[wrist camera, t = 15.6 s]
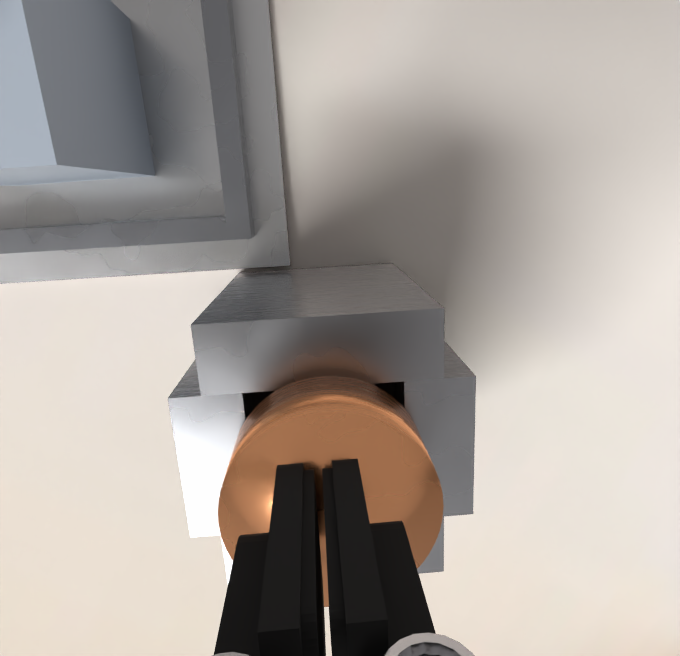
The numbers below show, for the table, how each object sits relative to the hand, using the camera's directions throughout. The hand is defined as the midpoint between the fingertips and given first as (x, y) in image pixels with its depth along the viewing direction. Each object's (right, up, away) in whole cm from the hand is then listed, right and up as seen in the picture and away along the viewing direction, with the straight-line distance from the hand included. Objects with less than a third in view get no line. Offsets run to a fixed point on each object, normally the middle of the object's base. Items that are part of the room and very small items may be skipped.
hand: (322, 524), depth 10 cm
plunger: (0, +2, +8) cm, 9 cm away
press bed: (-9, +12, +7) cm, 16 cm away
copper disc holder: (0, +3, +10) cm, 10 cm away
